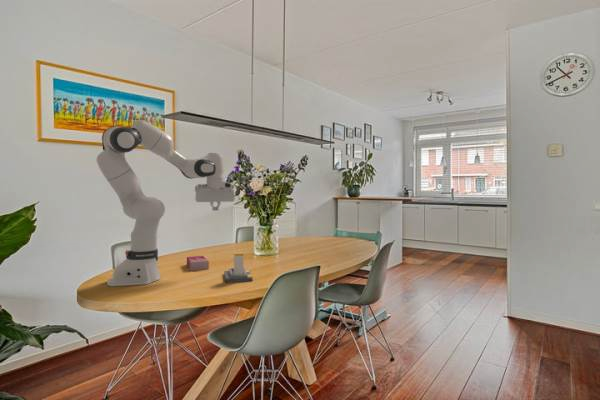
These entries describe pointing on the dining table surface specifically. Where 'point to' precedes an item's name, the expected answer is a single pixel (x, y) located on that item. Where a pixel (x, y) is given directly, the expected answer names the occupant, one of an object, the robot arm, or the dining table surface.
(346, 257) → the dining table surface
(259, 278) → the dining table surface
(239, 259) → the tab
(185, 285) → the dining table surface
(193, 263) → the maroon box
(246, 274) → the switch bank
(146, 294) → the dining table surface
